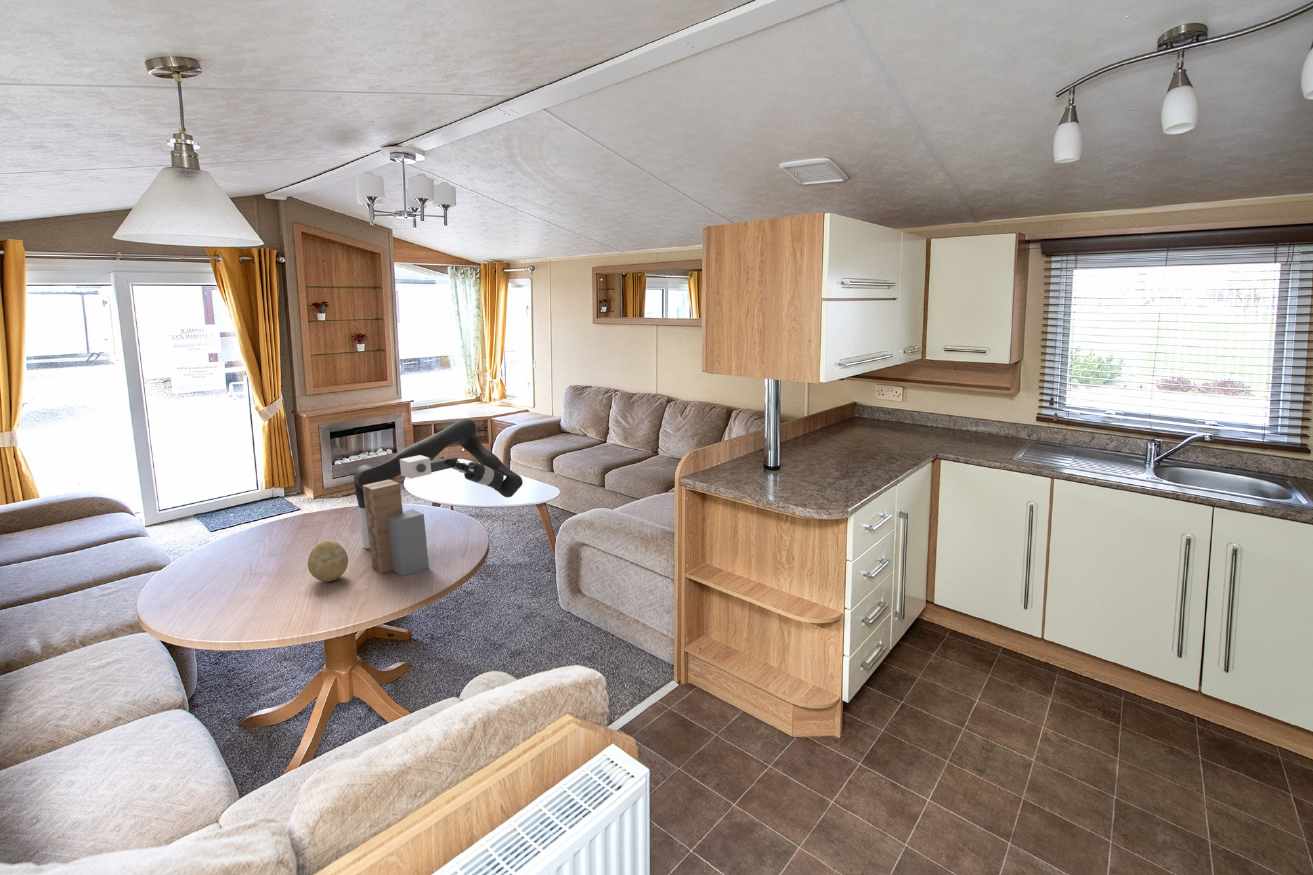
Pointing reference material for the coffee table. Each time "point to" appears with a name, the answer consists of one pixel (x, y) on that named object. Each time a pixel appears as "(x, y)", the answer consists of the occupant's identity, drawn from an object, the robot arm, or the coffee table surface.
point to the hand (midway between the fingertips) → (443, 460)
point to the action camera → (422, 465)
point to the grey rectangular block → (408, 542)
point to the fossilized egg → (327, 561)
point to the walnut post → (381, 520)
